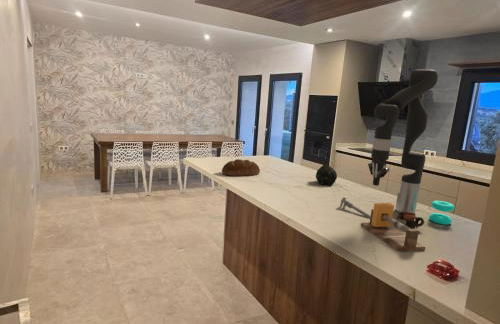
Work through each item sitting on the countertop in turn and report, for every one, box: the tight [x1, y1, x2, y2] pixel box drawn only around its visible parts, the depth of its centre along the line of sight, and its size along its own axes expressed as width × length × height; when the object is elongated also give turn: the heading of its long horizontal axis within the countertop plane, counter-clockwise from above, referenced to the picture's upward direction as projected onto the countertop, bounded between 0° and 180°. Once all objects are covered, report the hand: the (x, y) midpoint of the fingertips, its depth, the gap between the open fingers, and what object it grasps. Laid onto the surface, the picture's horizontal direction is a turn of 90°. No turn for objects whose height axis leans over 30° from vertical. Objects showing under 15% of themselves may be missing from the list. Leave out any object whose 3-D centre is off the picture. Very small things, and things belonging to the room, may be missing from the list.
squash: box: [315, 163, 338, 186], centre depth 223 cm, size 14×15×15 cm
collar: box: [371, 202, 395, 227], centre depth 142 cm, size 3×8×10 cm, turn 104°
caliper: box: [339, 196, 371, 219], centre depth 165 cm, size 20×1×6 cm, turn 35°
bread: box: [221, 158, 261, 177], centre depth 234 cm, size 16×29×11 cm, turn 115°
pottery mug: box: [396, 212, 425, 229], centre depth 150 cm, size 12×10×8 cm
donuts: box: [428, 200, 455, 226], centre depth 160 cm, size 10×10×10 cm
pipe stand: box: [360, 208, 426, 253], centre depth 136 cm, size 26×12×8 cm, turn 14°
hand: (375, 185), depth 148 cm, fingers closed
